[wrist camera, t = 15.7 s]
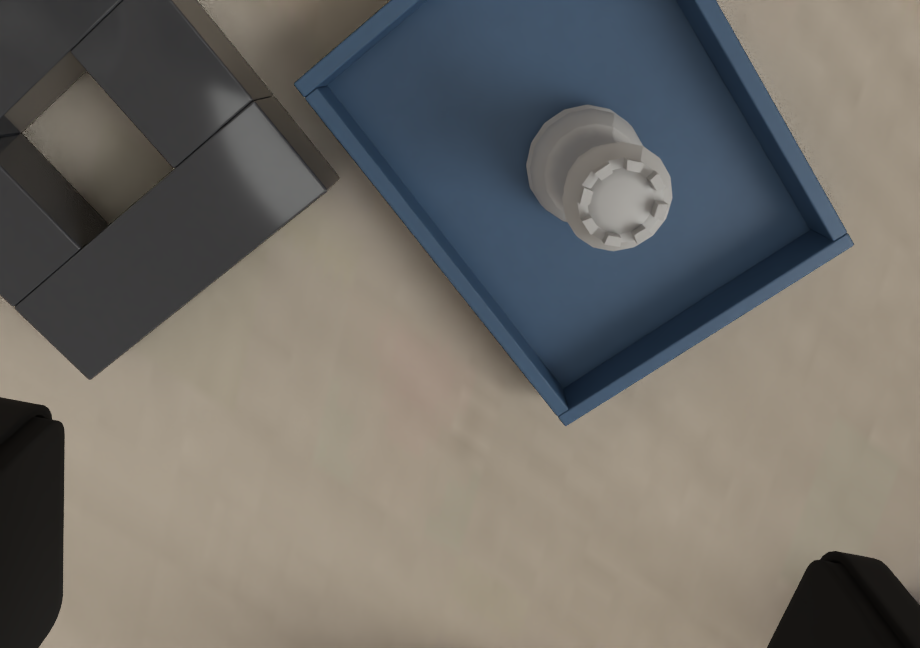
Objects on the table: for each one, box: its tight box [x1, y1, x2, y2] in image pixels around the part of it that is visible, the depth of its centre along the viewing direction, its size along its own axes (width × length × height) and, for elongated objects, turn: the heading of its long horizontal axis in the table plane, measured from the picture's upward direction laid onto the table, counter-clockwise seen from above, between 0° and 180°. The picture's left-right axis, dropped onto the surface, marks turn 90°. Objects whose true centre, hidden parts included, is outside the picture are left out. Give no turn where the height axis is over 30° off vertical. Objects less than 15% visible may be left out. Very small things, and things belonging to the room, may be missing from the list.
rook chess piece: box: [526, 105, 673, 251], centre depth 24 cm, size 4×4×8 cm
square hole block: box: [0, 0, 340, 380], centre depth 27 cm, size 13×13×3 cm
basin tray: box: [294, 0, 854, 426], centre depth 27 cm, size 17×13×2 cm
